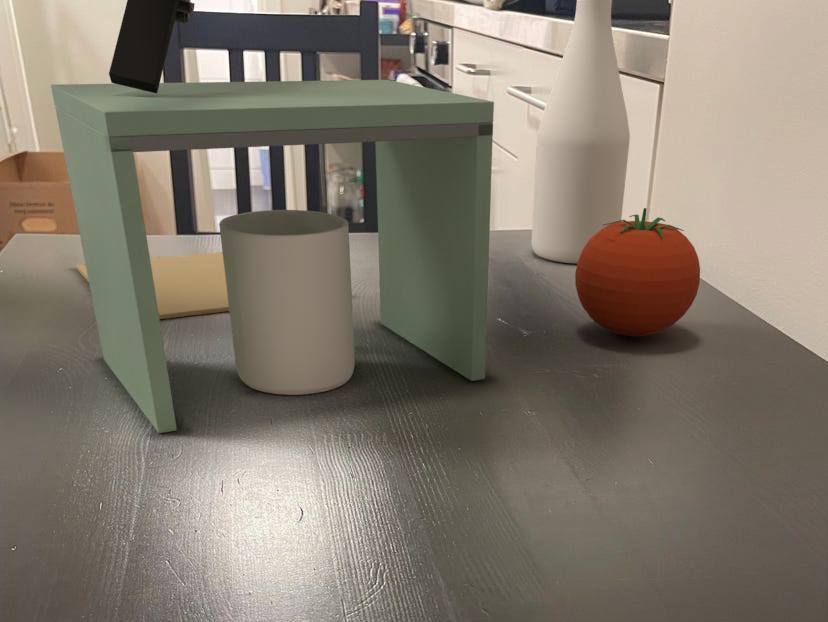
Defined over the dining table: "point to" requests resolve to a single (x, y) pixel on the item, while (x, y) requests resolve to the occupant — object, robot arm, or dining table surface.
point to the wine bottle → (581, 141)
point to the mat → (187, 284)
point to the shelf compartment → (279, 126)
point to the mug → (289, 299)
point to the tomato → (637, 276)
